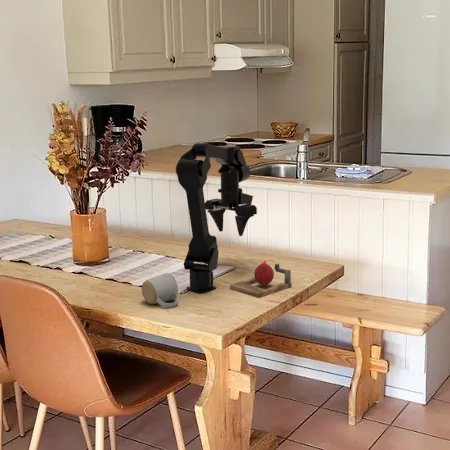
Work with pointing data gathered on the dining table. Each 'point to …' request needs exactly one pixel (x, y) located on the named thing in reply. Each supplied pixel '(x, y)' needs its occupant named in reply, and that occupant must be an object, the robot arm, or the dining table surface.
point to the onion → (264, 274)
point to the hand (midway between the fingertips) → (230, 233)
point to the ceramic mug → (161, 290)
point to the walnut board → (259, 292)
